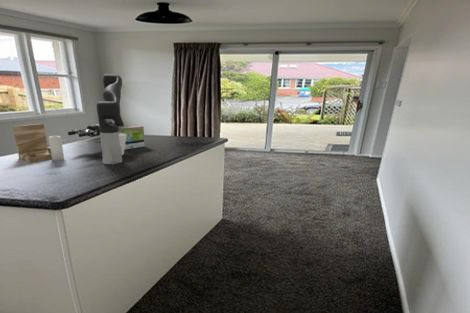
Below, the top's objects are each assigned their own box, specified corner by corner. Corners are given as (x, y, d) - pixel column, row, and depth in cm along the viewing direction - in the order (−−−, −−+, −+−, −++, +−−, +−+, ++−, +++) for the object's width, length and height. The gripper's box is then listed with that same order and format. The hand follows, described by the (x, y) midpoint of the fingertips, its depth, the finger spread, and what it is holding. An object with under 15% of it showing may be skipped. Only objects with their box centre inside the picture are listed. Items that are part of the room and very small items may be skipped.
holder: (59, 156, 144) (55, 126, 139) (31, 162, 132) (25, 129, 128) (47, 153, 151) (42, 123, 146) (19, 158, 139) (12, 126, 134)
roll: (66, 159, 141) (62, 136, 137) (55, 161, 136) (51, 137, 132) (60, 157, 143) (57, 135, 140) (50, 159, 138) (46, 136, 135)
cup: (120, 157, 147) (118, 137, 144) (102, 156, 149) (100, 135, 146) (131, 153, 159) (130, 134, 155) (115, 151, 161) (113, 132, 157)
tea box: (125, 150, 165) (123, 128, 161) (117, 147, 171) (115, 126, 167) (145, 146, 177) (143, 126, 173) (137, 144, 183) (135, 124, 179)
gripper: (87, 123, 163) (64, 126, 148) (104, 125, 158) (81, 129, 143) (89, 134, 165) (65, 139, 150) (105, 137, 160) (83, 142, 146)
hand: (73, 134), depth 147 cm, fingers open, 8 cm apart
